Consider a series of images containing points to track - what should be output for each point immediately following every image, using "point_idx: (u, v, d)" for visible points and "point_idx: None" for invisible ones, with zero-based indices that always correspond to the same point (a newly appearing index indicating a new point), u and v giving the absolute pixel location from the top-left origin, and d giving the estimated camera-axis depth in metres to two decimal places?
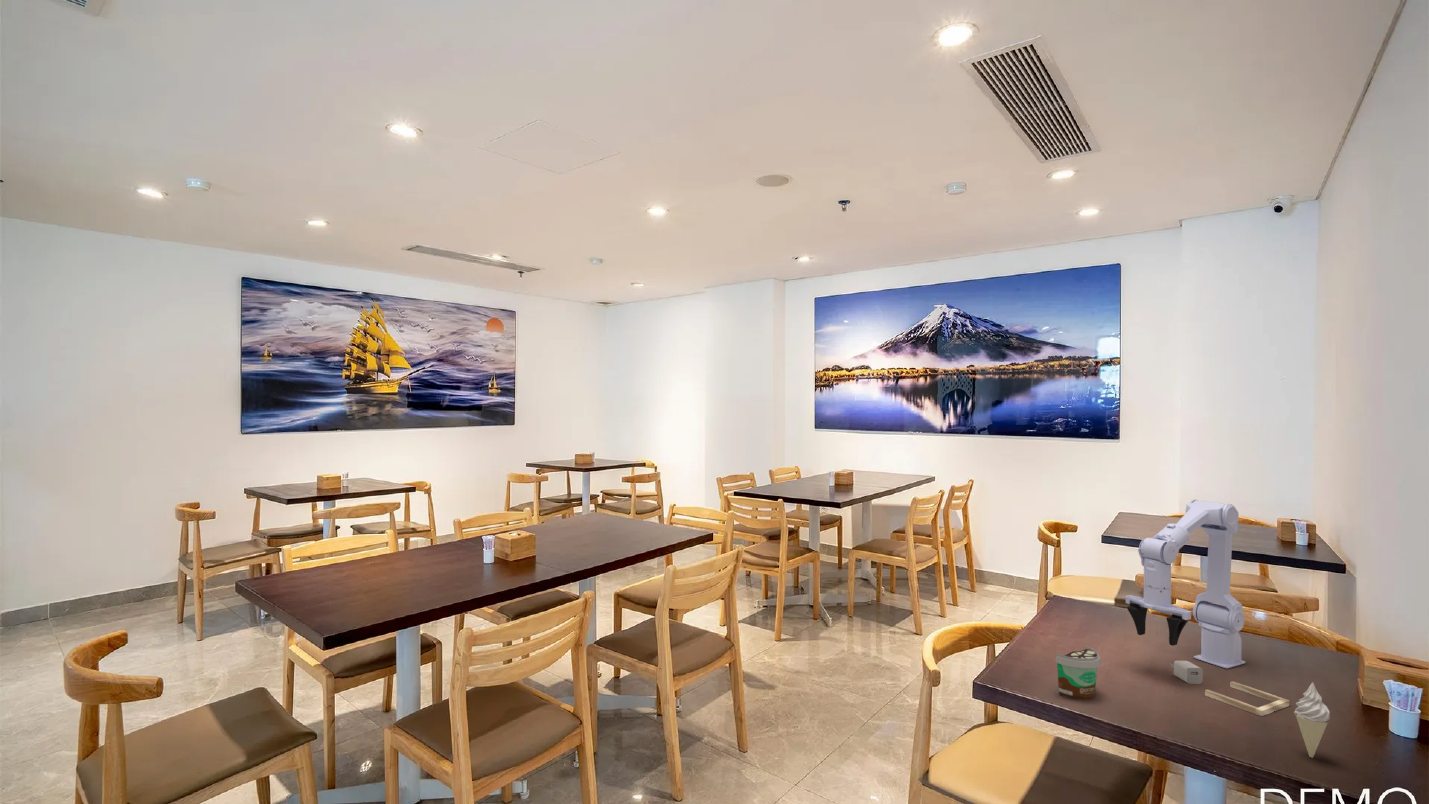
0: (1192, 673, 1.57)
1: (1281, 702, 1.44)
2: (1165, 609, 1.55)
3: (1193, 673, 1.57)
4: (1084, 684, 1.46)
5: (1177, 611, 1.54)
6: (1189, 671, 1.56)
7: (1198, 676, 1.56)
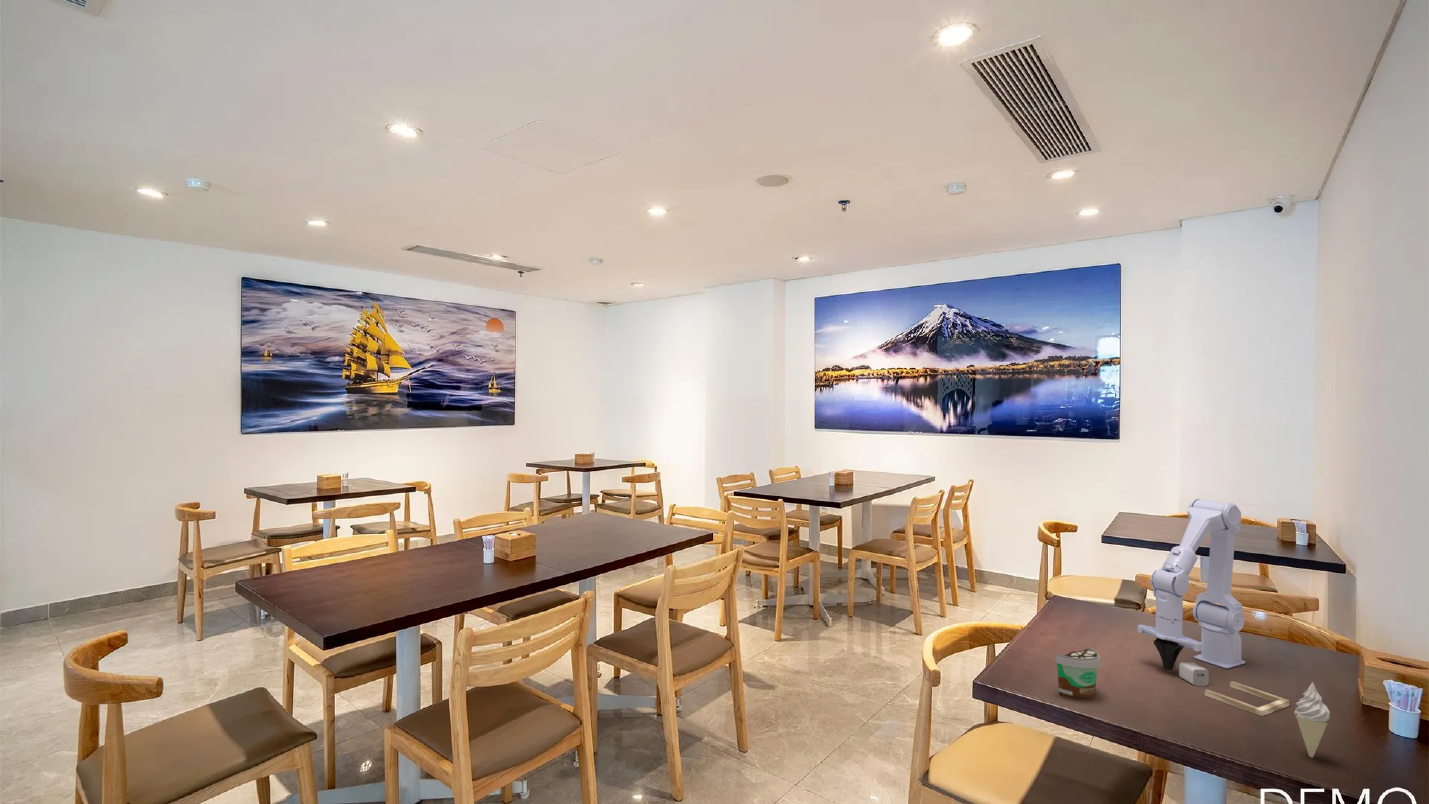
0: (1198, 675, 1.56)
1: (1281, 702, 1.44)
2: (1177, 640, 1.59)
3: (1199, 675, 1.56)
4: (1084, 684, 1.46)
5: (1189, 642, 1.57)
6: (1195, 673, 1.55)
7: (1204, 678, 1.55)
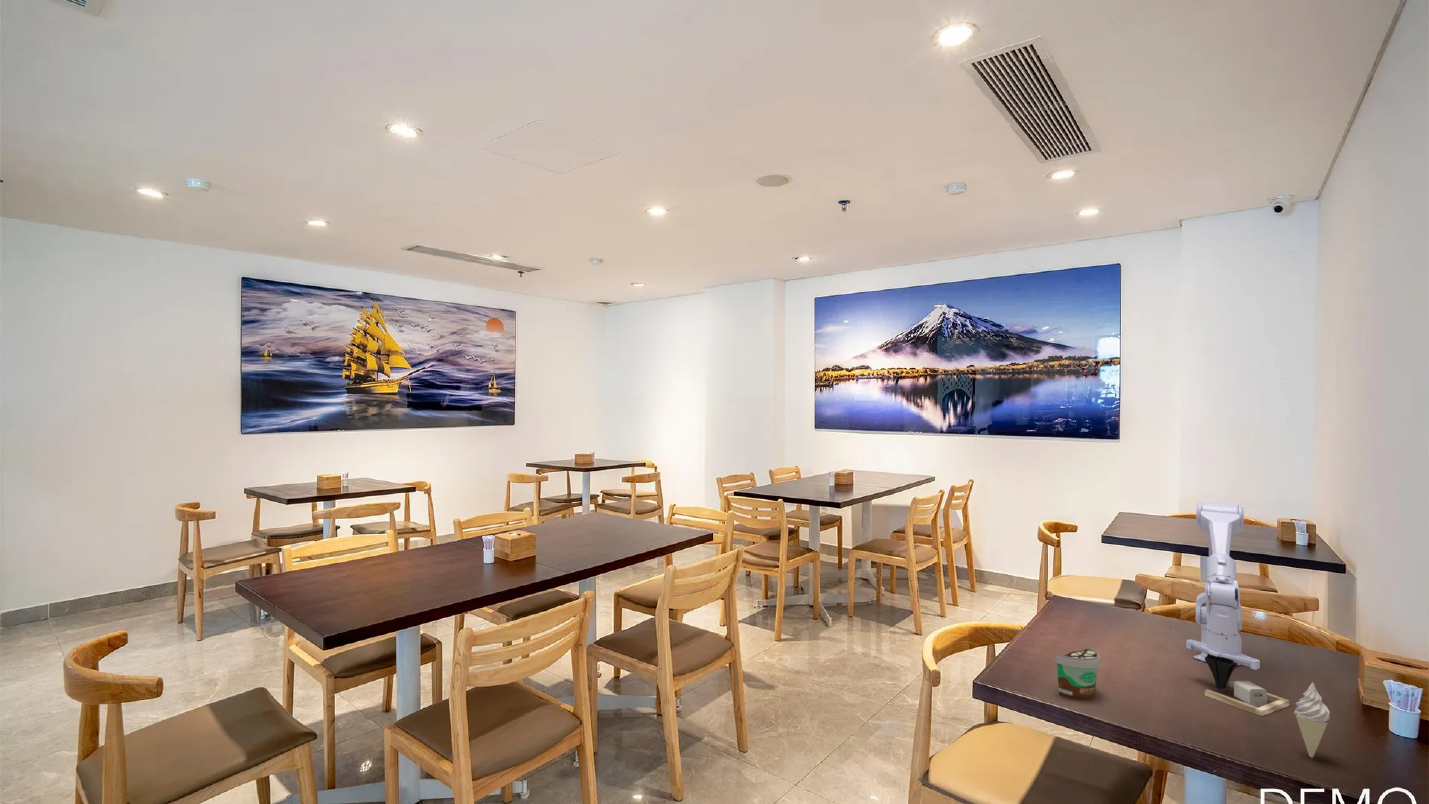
0: (1255, 695, 1.45)
1: (1281, 702, 1.44)
2: (1231, 657, 1.48)
3: (1256, 695, 1.45)
4: (1084, 684, 1.46)
5: (1245, 660, 1.47)
6: (1252, 693, 1.45)
7: (1262, 698, 1.45)
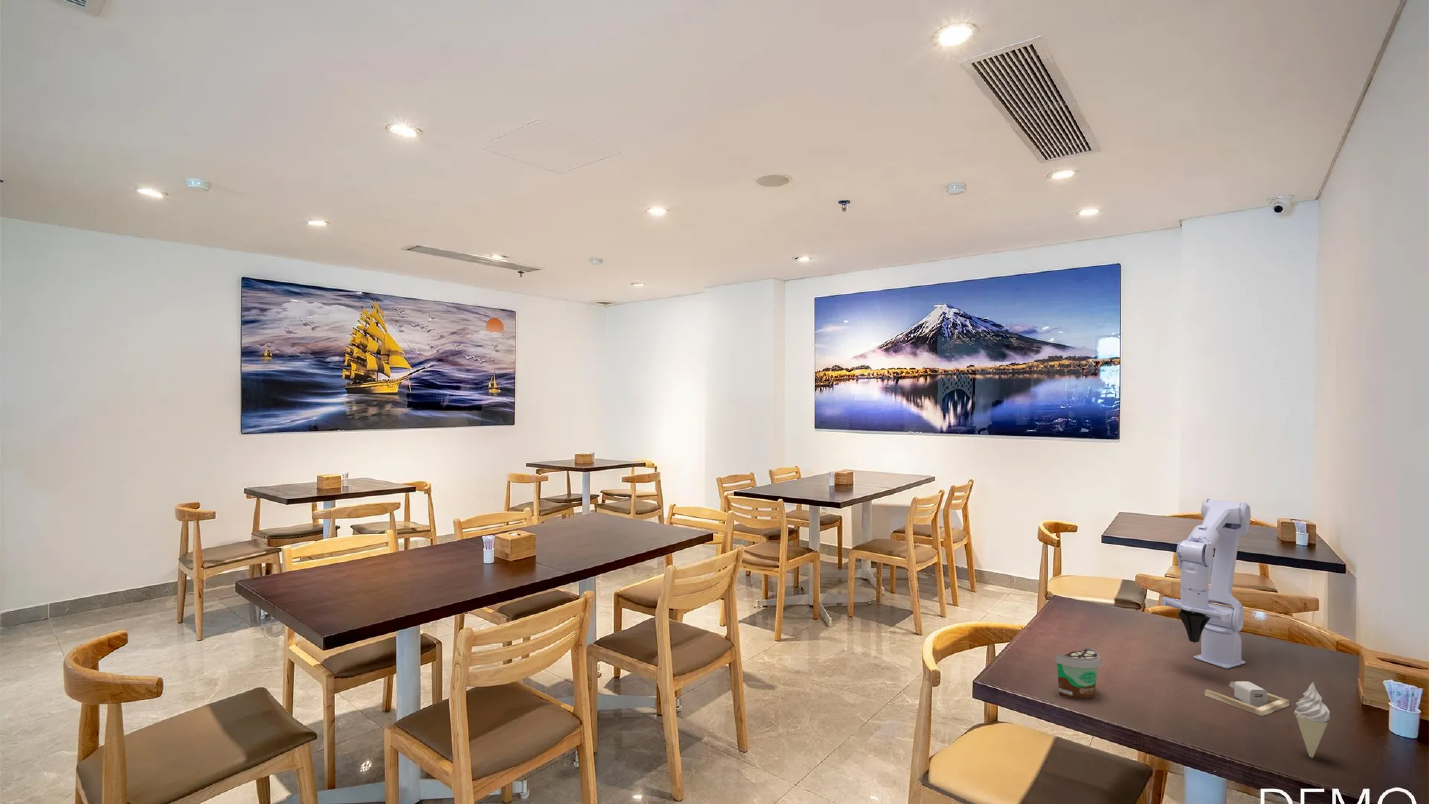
0: (1256, 695, 1.45)
1: (1281, 702, 1.44)
2: (1203, 611, 1.56)
3: (1257, 695, 1.45)
4: (1084, 684, 1.46)
5: (1215, 613, 1.55)
6: (1253, 693, 1.45)
7: (1262, 699, 1.44)
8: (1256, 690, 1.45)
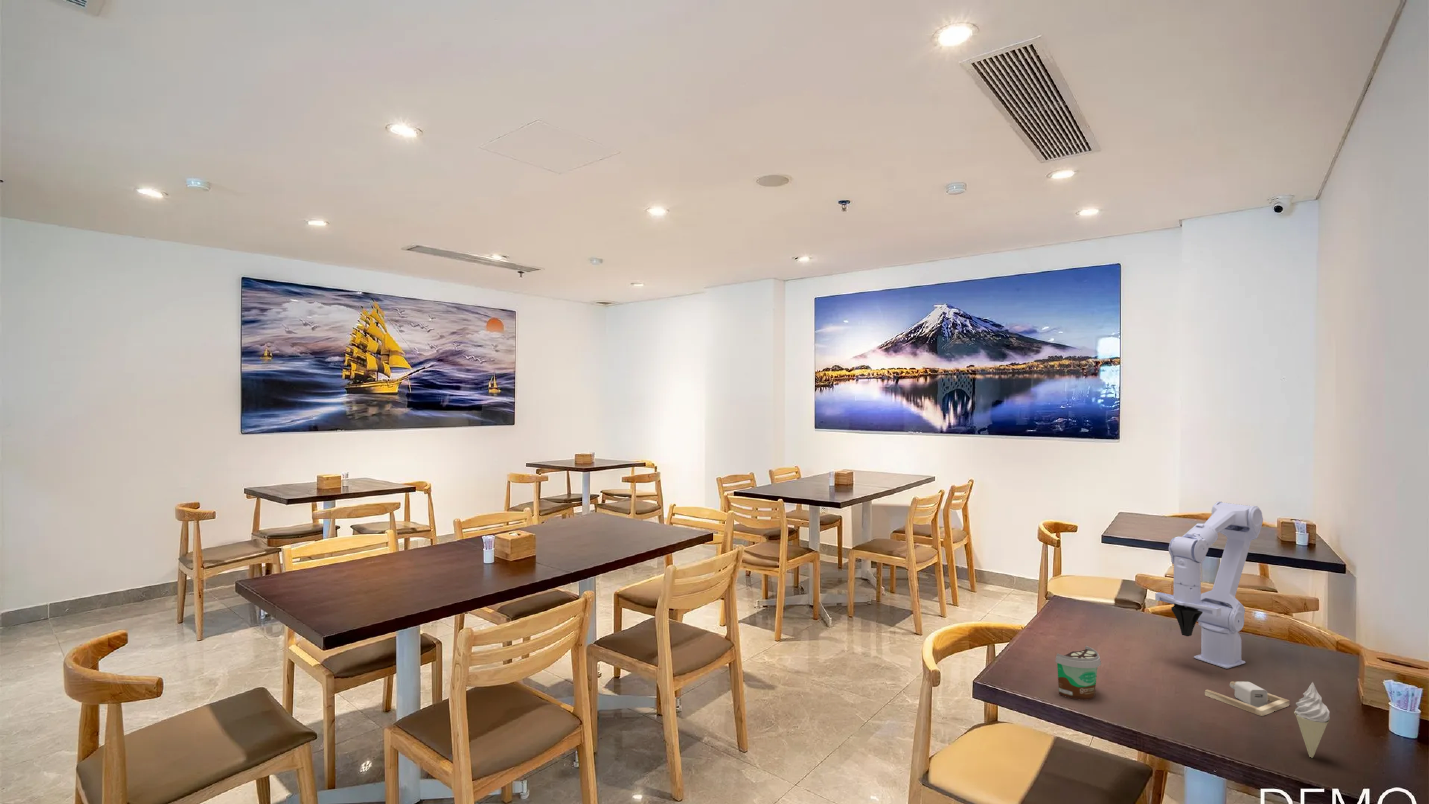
0: (1256, 696, 1.45)
1: (1281, 702, 1.44)
2: (1195, 606, 1.60)
3: (1257, 696, 1.45)
4: (1084, 684, 1.46)
5: (1207, 607, 1.59)
6: (1253, 693, 1.44)
7: (1262, 699, 1.44)
8: (1256, 690, 1.44)
